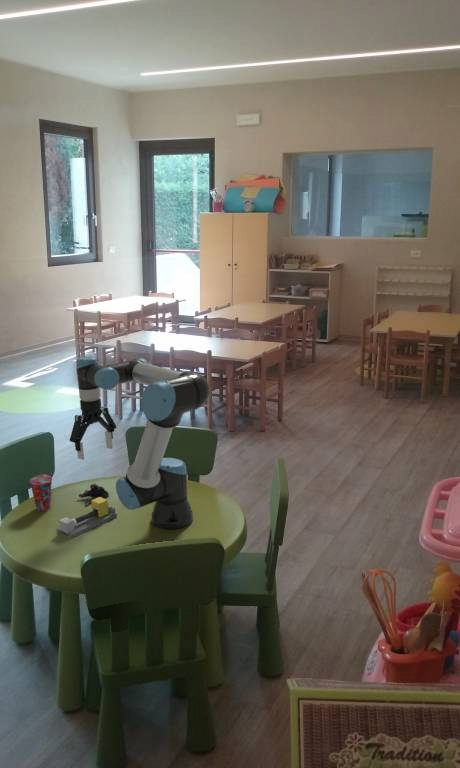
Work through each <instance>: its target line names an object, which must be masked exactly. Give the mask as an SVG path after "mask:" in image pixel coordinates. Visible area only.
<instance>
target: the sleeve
mask: <svg viewBox="0 0 460 768" xmlns="http://www.w3.org/2000/svg"><path fill="white" fill-rule="evenodd" d="M90 500H91V499H90ZM90 504H91V512H92V511H94V510H98V517H102V516H104V515H107V514H109V513H108V507H109V503H108V499H107V498H106V499H104V498H102V497H98V498H96V499H94V500H91V503H90Z"/></svg>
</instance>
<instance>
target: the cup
mask: <svg viewBox="0 0 460 768" xmlns="http://www.w3.org/2000/svg"><path fill="white" fill-rule="evenodd" d="M52 480H53V476H51V475H49V474H46V473H42V474H38V475H35V476H33V477H31V478H30V479H29V480H28V482H29V484H30V487H31V491H32V494H33V495H32V497H33V499H34V503H35V507H36V510H37V511H38V512H45V511H48V510H50V509H51V507H52V504H51V502H52Z"/></svg>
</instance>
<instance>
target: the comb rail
mask: <svg viewBox="0 0 460 768" xmlns="http://www.w3.org/2000/svg"><path fill="white" fill-rule="evenodd" d="M108 513H109V514H107V515H104V516H102V517H98V510H94V511H92V510H91V511H90V512H87V513H85V514H83V515H81V516H79V517H76V518H69V517H67V516H65V517H63V518H60V519H58V524H59V525H58V526H59V527H57V528H56V532H58V533H60V534H61V535H64V536H65V537H67V538H70V539H72V538H74V537H76V536H78V535H81V534H83V533H84V532H87V531H89V530H91V529H94V528H96V527H98V526H99V525H102V524H104V523H106V522H109V521H111V520H113V519H115V518H117V517H118V513H116V507H114V506H112V505H110V506H108Z"/></svg>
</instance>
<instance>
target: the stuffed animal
mask: <svg viewBox="0 0 460 768" xmlns="http://www.w3.org/2000/svg"><path fill="white" fill-rule="evenodd" d="M89 487H90V488H89V489H90V490H89V489H85V490H84V492H83V493H78V497H79V498H82V499H83V498H86V501H87V502H86V503H85V504H84V506H85V507H88V506H90V505H91V504H92V503H91V500H94V499H96V498H98V497H102V498H104V499H106V500H107V498H109V492H108V491H107V490H105V488H104V487H103V486H99V485H98V484H96V483H94V482H93V483H91V484H90V485H89ZM88 500H89V501H88Z"/></svg>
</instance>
